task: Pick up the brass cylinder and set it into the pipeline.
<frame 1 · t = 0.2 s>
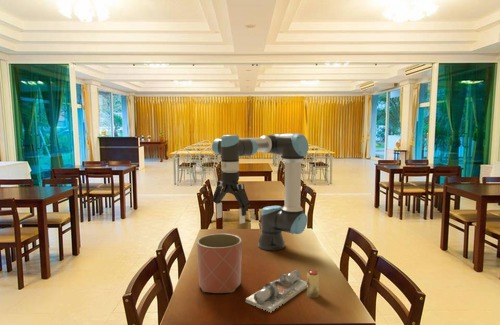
hand: (230, 220, 145), 28 cm above the table, fingers open, 13 cm apart
planter: (219, 285, 145), on the table
pipeline: (279, 293, 138), on the table
brass cylinder: (312, 294, 137), on the table
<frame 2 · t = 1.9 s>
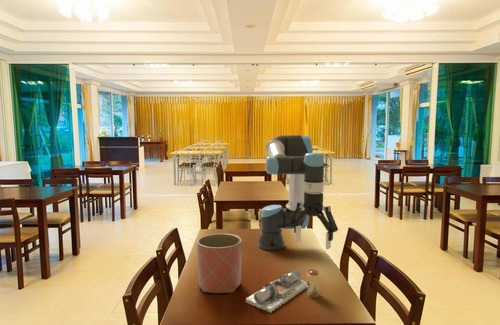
hand: (312, 244, 135), 21 cm above the table, fingers open, 13 cm apart
nothing on the table moved.
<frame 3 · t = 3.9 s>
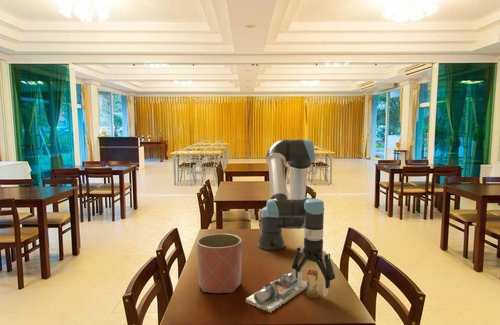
hand: (312, 290, 137), 2 cm above the table, fingers open, 11 cm apart
nothing on the table moved.
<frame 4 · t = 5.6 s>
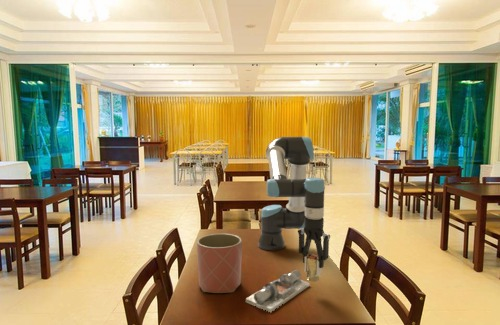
hand: (312, 272, 136), 9 cm above the table, fingers closed on brass cylinder, 5 cm apart
brass cylinder: (312, 278, 137), point 6 cm above the table, touching gripper
everything else where it was.
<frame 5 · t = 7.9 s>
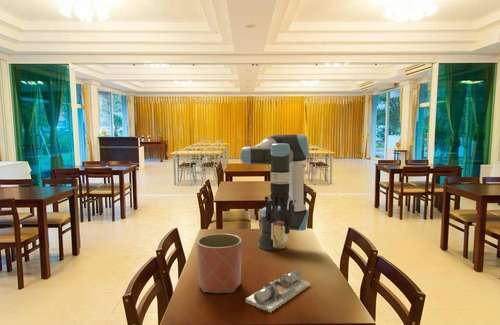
hand: (279, 239, 135), 23 cm above the table, fingers closed on brass cylinder, 5 cm apart
brass cylinder: (279, 246, 136), point 20 cm above the table, touching gripper
everything else where it was.
when the fingers open (4 cm above the table, at t = 10.5 s): brass cylinder stays where it is, resting on pipeline.
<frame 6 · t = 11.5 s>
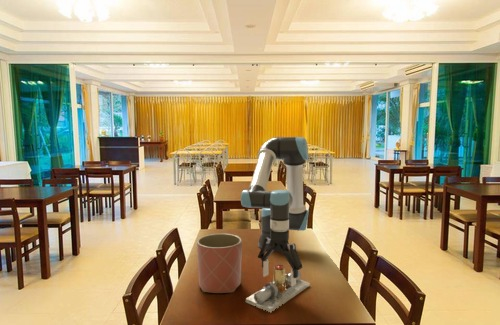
hand: (279, 280, 137), 6 cm above the table, fingers open, 13 cm apart
brass cylinder: (279, 289, 138), point 2 cm above the table, touching pipeline
everything else where it was.
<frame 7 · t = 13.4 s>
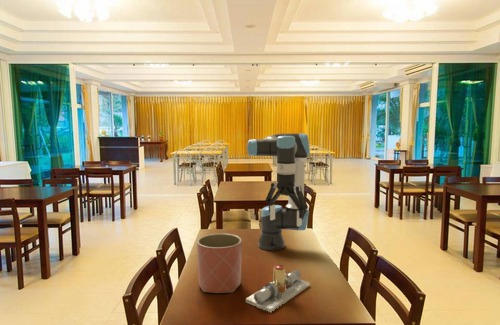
hand: (285, 222, 143), 27 cm above the table, fingers open, 13 cm apart
nothing on the table moved.
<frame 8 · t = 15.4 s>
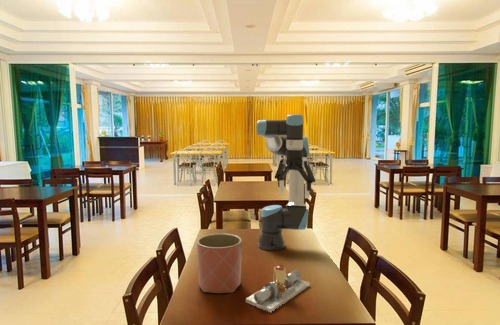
hand: (294, 196, 153), 37 cm above the table, fingers open, 13 cm apart
nothing on the table moved.
at the end: brass cylinder inside the target area on the pipeline (0.1 cm from its centre), point 1.7 cm above the pipeline's base; brass cylinder tilted 1°; the gripper is holding nothing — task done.
